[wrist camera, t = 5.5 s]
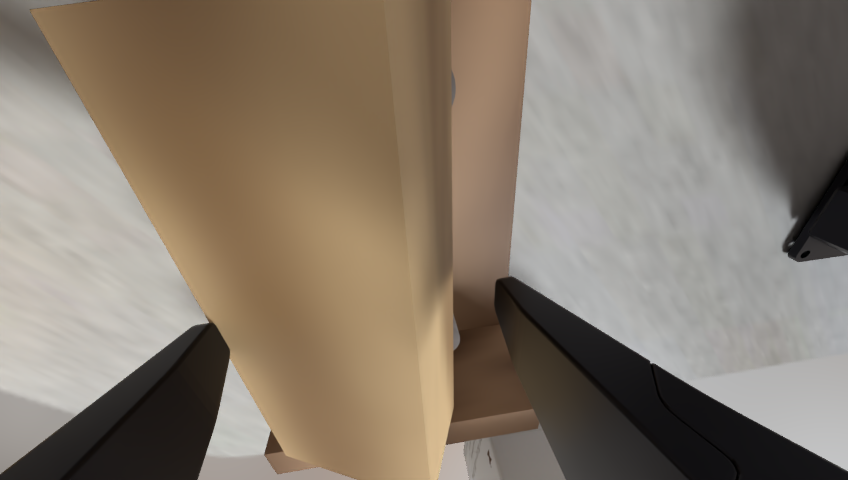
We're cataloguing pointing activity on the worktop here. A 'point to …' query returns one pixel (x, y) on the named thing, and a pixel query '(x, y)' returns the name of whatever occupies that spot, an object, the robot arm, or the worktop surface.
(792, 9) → the worktop surface
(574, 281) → the worktop surface
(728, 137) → the worktop surface
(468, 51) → the peg frame
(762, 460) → the robot arm
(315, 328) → the shelf board
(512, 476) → the supplement box
